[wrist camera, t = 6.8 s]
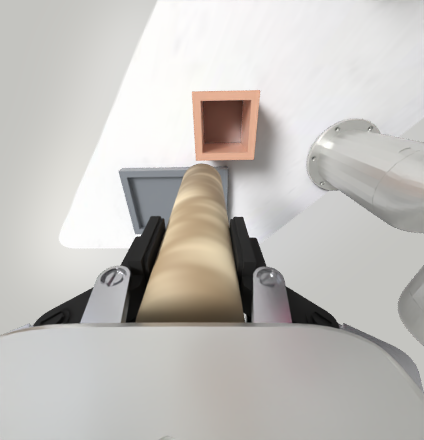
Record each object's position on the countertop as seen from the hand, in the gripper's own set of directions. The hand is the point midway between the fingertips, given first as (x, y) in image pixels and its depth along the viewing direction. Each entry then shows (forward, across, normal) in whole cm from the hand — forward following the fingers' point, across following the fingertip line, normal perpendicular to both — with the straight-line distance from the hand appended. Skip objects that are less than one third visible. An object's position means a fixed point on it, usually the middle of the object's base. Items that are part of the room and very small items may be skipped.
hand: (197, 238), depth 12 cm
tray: (+28, +5, +11) cm, 30 cm away
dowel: (+9, 0, 0) cm, 9 cm away
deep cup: (+27, -3, -4) cm, 28 cm away
